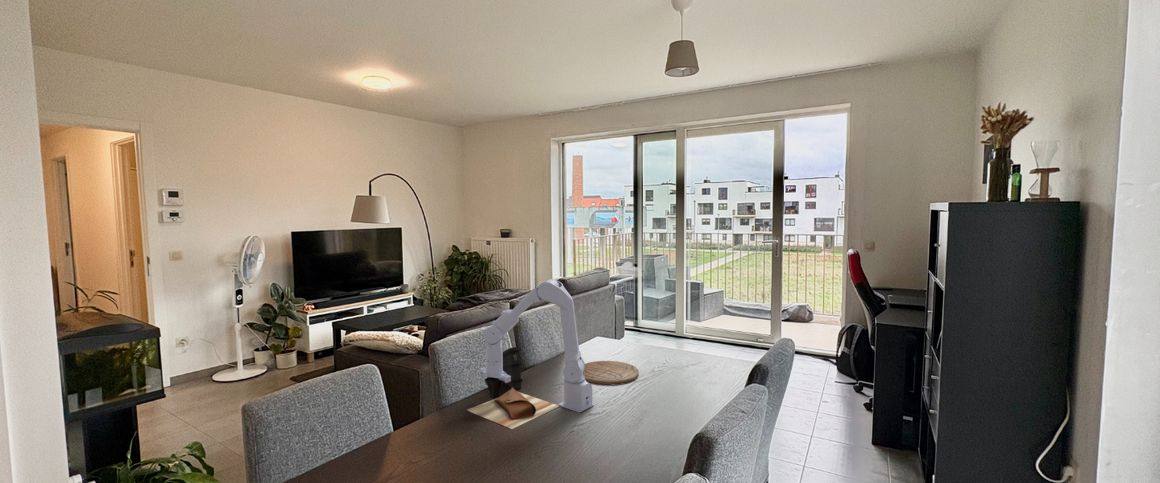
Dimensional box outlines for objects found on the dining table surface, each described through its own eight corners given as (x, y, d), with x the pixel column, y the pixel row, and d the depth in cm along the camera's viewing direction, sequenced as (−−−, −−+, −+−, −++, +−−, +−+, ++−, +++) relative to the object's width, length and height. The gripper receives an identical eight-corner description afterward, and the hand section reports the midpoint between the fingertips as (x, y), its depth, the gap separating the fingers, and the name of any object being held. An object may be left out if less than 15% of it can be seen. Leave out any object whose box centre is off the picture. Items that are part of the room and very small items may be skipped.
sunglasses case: (491, 400, 165) (500, 382, 166) (508, 406, 168) (516, 388, 170) (512, 419, 150) (522, 399, 151) (529, 425, 153) (539, 406, 155)
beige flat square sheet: (560, 406, 161) (560, 406, 161) (511, 429, 144) (511, 428, 144) (515, 391, 175) (515, 390, 175) (466, 410, 158) (466, 409, 158)
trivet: (599, 361, 212) (599, 357, 212) (649, 372, 197) (649, 367, 197) (564, 377, 191) (564, 372, 191) (618, 390, 177) (618, 385, 177)
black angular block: (516, 388, 173) (509, 347, 178) (504, 393, 184) (497, 354, 188) (526, 386, 175) (518, 346, 180) (513, 391, 186) (506, 353, 190)
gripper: (471, 358, 167) (472, 396, 167) (499, 366, 157) (499, 407, 158) (487, 353, 172) (488, 390, 173) (515, 361, 163) (515, 400, 164)
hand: (494, 398), depth 166 cm, fingers closed
